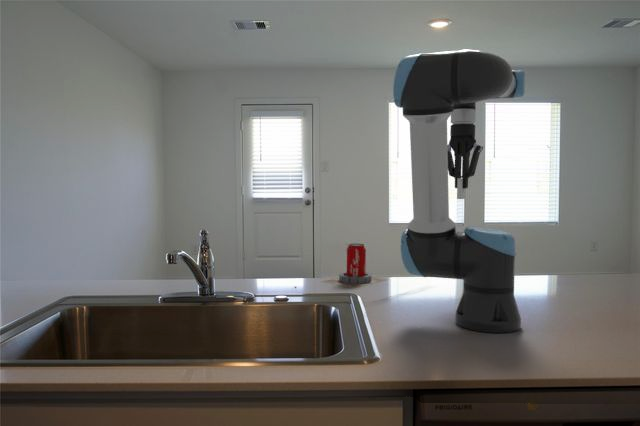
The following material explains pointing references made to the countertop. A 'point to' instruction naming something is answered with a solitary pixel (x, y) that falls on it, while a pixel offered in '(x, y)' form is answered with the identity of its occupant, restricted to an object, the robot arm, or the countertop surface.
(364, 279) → the gray segmented ring
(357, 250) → the soda can
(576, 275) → the countertop surface
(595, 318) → the countertop surface
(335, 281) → the walnut base board
